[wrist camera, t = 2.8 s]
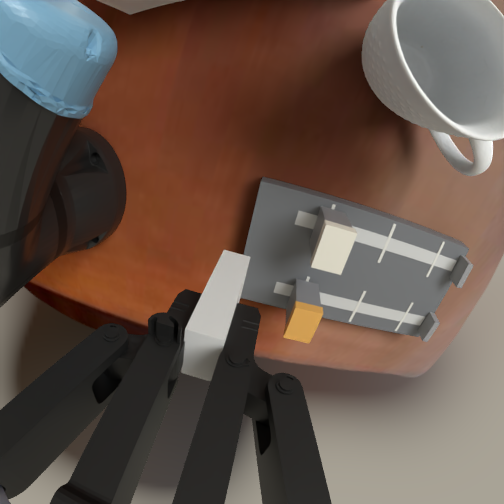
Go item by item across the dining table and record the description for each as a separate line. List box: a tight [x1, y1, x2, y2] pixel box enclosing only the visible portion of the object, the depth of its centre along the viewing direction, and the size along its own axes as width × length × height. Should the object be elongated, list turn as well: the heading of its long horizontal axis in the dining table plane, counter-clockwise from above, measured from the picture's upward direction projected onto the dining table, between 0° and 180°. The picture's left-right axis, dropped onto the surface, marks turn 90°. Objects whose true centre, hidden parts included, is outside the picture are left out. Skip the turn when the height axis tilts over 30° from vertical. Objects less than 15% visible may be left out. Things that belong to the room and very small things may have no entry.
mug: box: [362, 0, 504, 176], centre depth 15 cm, size 15×11×13 cm
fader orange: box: [283, 279, 323, 343], centre depth 28 cm, size 3×4×5 cm
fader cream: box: [310, 206, 358, 275], centre depth 24 cm, size 3×4×5 cm
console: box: [240, 177, 473, 342], centre depth 28 cm, size 24×13×4 cm, turn 77°
